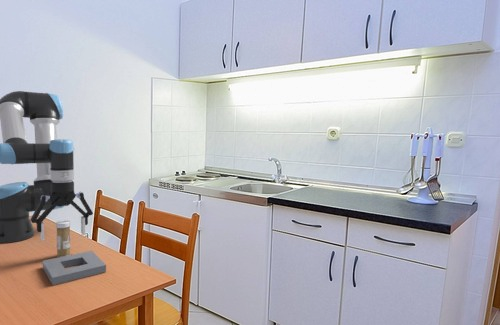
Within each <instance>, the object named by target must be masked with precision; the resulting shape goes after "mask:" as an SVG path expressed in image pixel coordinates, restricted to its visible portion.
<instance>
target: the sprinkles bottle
mask: <svg viewBox="0 0 500 325" xmlns="http://www.w3.org/2000/svg"><path fill="white" fill-rule="evenodd" d="M70 227H71V221H70V220H68V219H65V220H58V221H56V222H55V228H56V249H57V250H56V252H57V253H56V254H57V255H56V258H58V257H63V256H68V255H71V233H70V232H71V231H70V230H71V229H70Z"/></svg>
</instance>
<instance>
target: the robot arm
mask: <svg viewBox="0 0 500 325" xmlns="http://www.w3.org/2000/svg"><path fill="white" fill-rule="evenodd" d="M62 104H63V103H62V100H61V98H60V97H59V96H58V95H57V94H53V93H48V92H34V91H33V92H32V91H24V90H16V91H15V90H14V91H12V92H9V93H7V94H5V95H3V96H2V97H0V127H1V129H0V130H1V137H2V143H0V164H1V165H23V164H26V165H27V164H36V174H37V177H36V178H35V179H34V180H33V184H29V182H27V181H18V182H11V183H6V184H3V185H0V244H9V243H15V242H16V243H17V242H21V241H25V240H28V239H30V238H32V237H34V236H35V228H34V226H33V224H36V232H37V233H39V234H40V241H41V242H45V223H44V222H43V221H44V220H45V219H46V218H47V217H48V216H49V215H50V213H51V212H52V211H53V210H57V209H63V208H64V207H68V206H70V205H71V206H72V207H73V208H74V209H76V210H77V211H78V212H79V213H80V214H81V215H82V216H80V230H81V231H80V233H81V234H82V235H86V226H88V224H89V222H88V221H89V219H88V218H89V216H93V215H94V211H93V210H92V209H91V207H90V205H89V204H88V202H87V201H86V199H85V196H84V192H82V191H79V192H75V182H74V181H73V180H74V179H75V173H74V172H75V170H74V151H75V148H74V142H73V140H72V139H64V138H63V139H62V138H61V139H59V138H57V137H58V134H57V125H58V124H59V123H60V120H62V119H63V116H64V112H63V111H64V109H63V105H62ZM24 118H29V122H30V123H31V125H33V127H34V143H31V142H29V143H28V138H27V134H26V129H25V123H24ZM75 198H78V199H79V200H80V202H81V204H82V205H83V207H84V208H85V210H86V211H85V210H83V209H82V208H81V207H80V206H79V205H78V204H77V203H76V202H75V201H74V199H75ZM42 211H43V212H42ZM31 212H33V214H32V216H31V218H30V213H31ZM41 212H42V214H41Z"/></svg>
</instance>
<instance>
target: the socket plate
mask: <svg viewBox="0 0 500 325" xmlns="http://www.w3.org/2000/svg"><path fill="white" fill-rule="evenodd" d="M42 269H43V271H44V272H45V275H46V277H47V278H48V279H49V282H50V284H51V285H52V286H56V285H60V284H63V283H68V282H71V281H77V280H80V279H83V278H87V277H92V276H95V275H99V274H103V273H107V264H106V263H105V262H104V261H103V260H102V258H100V257H99V256H98V255H97V254H96V253H95V252H94V251H93V250H89V251H88V250H87V251H83V252H79V253H73V254H70V255H68V256H63V257H54V258H50V259H45V260H42Z"/></svg>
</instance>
